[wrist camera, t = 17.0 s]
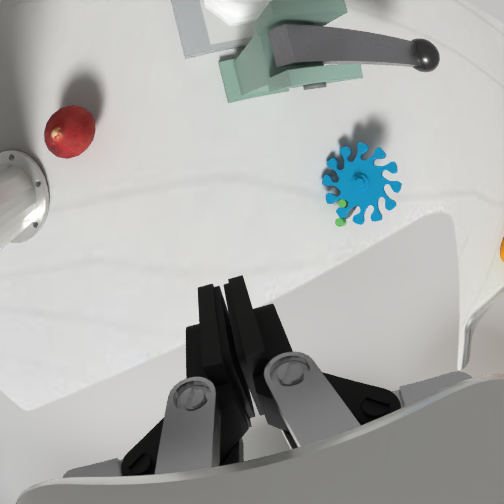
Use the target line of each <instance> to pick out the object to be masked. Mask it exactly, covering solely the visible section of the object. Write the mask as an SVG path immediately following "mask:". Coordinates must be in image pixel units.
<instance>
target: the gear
mask: <svg viewBox="0 0 504 504" xmlns="http://www.w3.org/2000/svg"><path fill="white" fill-rule="evenodd" d="M357 148H358V153H357V156H356V158H355V160H354V161H353V162H350V161H349V159H348V158H349V156H350V154H351V149H350V148H349V147H342V148H340V153H341V155H342V156H343V158H344V168H343V169H342V170H339V168H338V161H337V160H336V159H334V158H331V159H330V160H329V161H328V162H327V166H328V167H330V168H332V169H334V170H335V171H336V173H337V174H338V177H339V181H338V182H337V183H335V182H334V181H333V179H332V177H331V176H328V175H325V176H324V178H323V181H322V184H323V185H326V186H330V185H333V186H335V187H337V188H338V189H339V190H340V192H341V193H340V195H339V196H336V195H334V194H332V193H328V194H326V201H327V203H328V204H333V203H335V202H336V201H338V200H339V202H338V205H339V207H340V208H338V209H337V210H336V212H337V214H338V215H339V217H340V218H338V219H336V222H335V223H336V225H337V226H339V227H340V226H344V225H345V224H346V220H345V219H348V218H349V217H350V216H351V215H352V213H353V212H354V210H355V209H356V207H357V206H359V207H360V209H361V211H360V213H359V214H357V215H355V216H354V217H353V221H354V222H355V223H357V224H360V225H361V224H363V223H364V213H365V211H366V209H367V207H368V206H369V205H372V206H373V207H374V212H373V213H372V215H371V220H372V221H379V220H382V214H381V213H380V211H379V208H378V200H379V198H380V197H384V198H385V207H386V209H387V210H392V209H393V208H394V207H395V206H396V202H395V201H394V200H392V199H390V198H389V197H388V196H387V195H386V193H385V191H384V186H385V185H386V184H389V185H390V186H391V188H392V190H393V191H394V192H397V193H399V191H400V189H401V185H402V184H401V183H400V182H398V181H389V180H387V179H385V178H384V177H383V176H382V172H383V171H384V170H388V171H390V172H391V173H397V165H396V163H395V162H390V163H389V164H387V165H385V166H375V165H374V160H375V159H383V158H385V157H386V154H385V152H384V151H383V150H382V149H381V148H380V147H378V148H377V149H376V150H375V152H374V154H373V156H372V157H370V158H369V159H367V160H362V154H364V153H366V152H367V151H368V150H369V146H368V145H366V144H364V143H360V142H359V143H358V145H357Z"/></svg>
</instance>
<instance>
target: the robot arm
mask: <svg viewBox="0 0 504 504" xmlns="http://www.w3.org/2000/svg"><path fill="white" fill-rule="evenodd" d="M40 182H41V184H40ZM48 207H49V193H48V186H47V183H46V179H45V177H44V175H43V172H42V170H41V169H40V167H39V166H38V164H37V163H36V162H35V161H34V160H33V159H32V158H31V157H30V156H28V155H27V154H25V153H23V152H20V151H17V150H8V151H4V152H1V153H0V251H1V250H2V249H3V248H4V247H5V246H6V245H7V244H8V243H9V242H11V243H21V242H24V241H27V240H29V239H30V238H32V237H33V236H34V235H35V234H36V233H37V232H38V231H39V230H40V229H41V228H42V226H43V224H44V222H45V220H46V217H47V214H48ZM228 281H229V283H228V284H224V290H225V295H226V301H227V306H228V310H227V307H226V304H225V301H224V298H223V295H222V292H221V289H220V287H219V286H217V287H214V286H213V284H209V285H206V286H202V287H199V288H198V303H199V322H200V324H196V325H193V326H189V327H187V328H186V375H187V379H184V380H182V381H180V382H179V383H178V384H176V385H175V386H174V387H173V389H172V390H171V391H170V394H169V396H168V401H167V406H166V411H165V417H164V418H163V419H162V420H161V421H160V422H159V423H158V424H157V425H156V426H155V427H154V428H153V429H152V430H151V431H150V432H149V433H148V434H147V435H146V436H145V437H144V438H143V439H142V440H141V441H140V442H139V443H138V444H137V445H135V446H134V447H133V448H132V449H131V450H130V451H129V452H128V453H127V454H126V456H125V457H124V459H123V460H119V459H117V458H116V459H112V460H108V461H104V462H100V463H96V464H92V465H88V466H84V467H79V468H75V469H72V470H69V471H68V472H67V473H66V474H65V475H64V476H63V478H59V479H53V480H49V481H45V482H42V483H39V484H36V485H33V486H31V487H29V488H28V489H26V490H25V491H23V492H22V493H21V495H20V496H19V498H18V500H17V502H16V504H504V375H503V374H494V375H485V376H480V377H475V378H472V377H471V376H470V375H468V374H466V373H463V372H459V371H458V372H451V373H448V374H445V375H441V376H438V377H434V378H431V379H427V380H424V381H420V382H416V383H413V384H409V385H405V386H401V387H399V390H397V391H392V392H391V391H389V390H386V389H384V388H380V387H375V386H371V385H367V384H363V383H360V382H355V381H352V380H348V379H344V378H340V377H337V376H334V375H330V374H326V373H323V372H321V370H320V369H319V368H318V366H317V365H316V364H315V362H314V361H313V360H312V359H311V358H310V357H309V356H308V355H306V354H304V353H300V352H293V351H292V348H291V346H290V344H289V341H288V339H287V336H286V334H285V331H284V329H283V326H282V324H281V321H280V319H279V317H278V314H277V312H276V309H275V307H274V305H273V304H269V305H266V306H262V307H259V308H255V309H253V308H252V305H251V302H250V298H249V295H248V292H247V288H246V285H245V282H244V278H243V275H242V276H238V277H235V278H231V279H228ZM228 312H229V313H228ZM249 389H250V391H249ZM250 392H251V394H252V397H253V399H254V402H255V404H256V407H257V409H258V412H259V414H260V415H264V414H265V417H266V420H267V422H268V424H270V425H272V426H275V427H277V428H279V429H281V430H282V432H283V435H284V437H285V439H286V441H287V443H288V444H289V446H290V448H291V450H288V451H285V452H281V453H277V454H273V455H270V456H266V457H261V458H257V459H253V460H248V461H244V443H243V439H242V436H243V435H244V434H245V433H246V431H247V430H248V429H249V428H248V427H251V422H250V418H252V417H255V413H254V409H253V405H252V400H251V396H250Z"/></svg>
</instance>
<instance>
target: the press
mask: <svg viewBox="0 0 504 504" xmlns="http://www.w3.org/2000/svg"><path fill="white" fill-rule="evenodd" d="M171 2H172V6H173V10H174V14H175V18H176V23H177V27H178V31H179V35H180V39H181V43H182V47H183V51H184V55H185V59H188V58H192V57H196V56H200V55H204V54H208V53H213V52H217V51H222V50H227V49H232V48H237V47H243V46H246V47H245V48H244V50H243V51H242V52H241V54H240V55H239V56H238V58H235V59H230V60H226V61H221V62H219V67H220V71H221V75H222V79H223V83H224V87H225V91H226V95H227V100H228V103H230V102H235V101H239V100H244V99H249V98H253V97H258V96H264V95H269V94H275V93H280V92H286V91H289V88H294V87H301V86H303V87H304V90H307V89H314V88H322V87H327V86H326V83H332V82H338V81H344V80H351V79H358V78H363V74H362V69H361V65H360V63H355V64H339V65H326V66H324V64H319V65H300V66H286V67H276V62H275V58H274V54H273V50H272V46H271V42H270V38H269V34H268V31H270V30H273V29H275V28H277V27H280V26H282V25H285V24H294V25H311V26H324V25H326V24H327V23H329V22H331V21H333V20H334V19H336V18H338V17H340V16H342V15H343V14H345V13H347V8H346V5H345V1H344V0H272V1H270V2H269V4H268V5H267V6H266V8H265V9H264V10H263V12H262V13H261V15H260V16H259V17H258V19H257V20H256V21H253V22H248V23H244V24H239V25H235V26H229V25H228V24H227V23H225V22H224V21H223V20H221V19H220V18H219V17H218V16H216V15H215V14H214V13H212V12H211V11H210V10H208V9H207V8H206V7H205V6H204V0H171Z"/></svg>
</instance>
